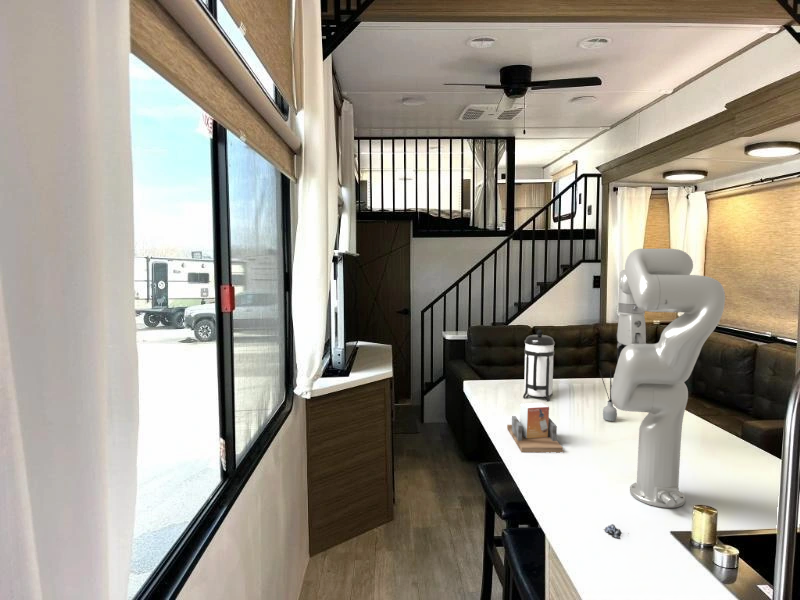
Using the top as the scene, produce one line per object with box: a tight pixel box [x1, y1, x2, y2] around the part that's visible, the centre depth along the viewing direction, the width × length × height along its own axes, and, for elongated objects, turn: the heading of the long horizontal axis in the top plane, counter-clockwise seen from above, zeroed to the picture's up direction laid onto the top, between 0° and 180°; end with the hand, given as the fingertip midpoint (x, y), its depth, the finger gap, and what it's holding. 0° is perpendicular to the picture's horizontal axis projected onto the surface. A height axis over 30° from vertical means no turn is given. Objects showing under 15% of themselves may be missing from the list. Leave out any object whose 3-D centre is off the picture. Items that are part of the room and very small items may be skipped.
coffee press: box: [522, 329, 556, 402], centre depth 220 cm, size 17×16×30 cm
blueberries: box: [603, 523, 629, 540], centre depth 112 cm, size 7×8×2 cm
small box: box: [519, 402, 550, 439], centre depth 169 cm, size 8×6×10 cm
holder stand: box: [506, 415, 564, 454], centre depth 169 cm, size 22×13×6 cm, turn 179°
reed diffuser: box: [598, 367, 618, 422], centre depth 190 cm, size 10×7×20 cm
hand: (629, 363), depth 157 cm, fingers open, 9 cm apart
